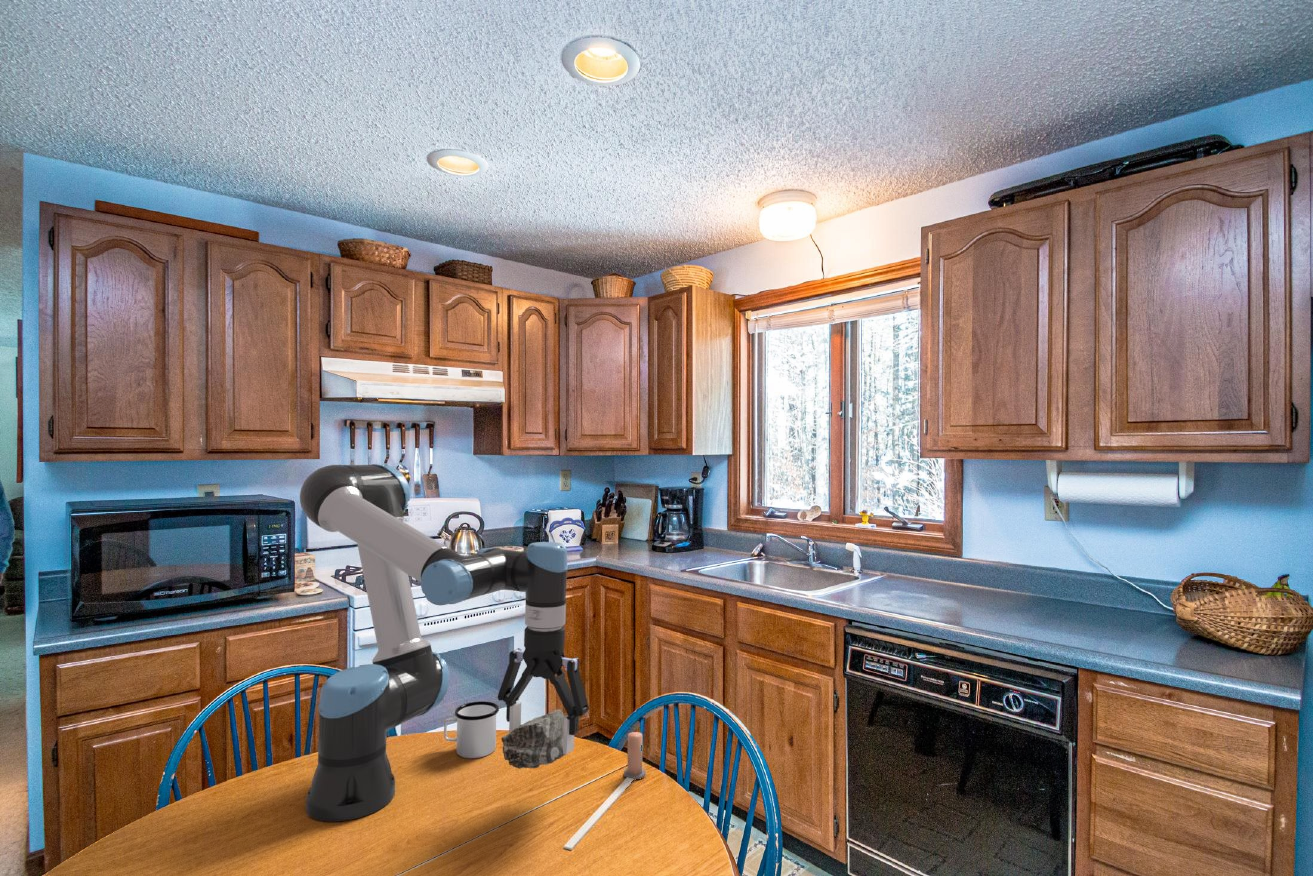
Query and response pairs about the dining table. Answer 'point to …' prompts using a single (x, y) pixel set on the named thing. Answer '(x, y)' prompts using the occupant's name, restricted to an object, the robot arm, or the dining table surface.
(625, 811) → the dining table surface
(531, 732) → the rock
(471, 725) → the mug
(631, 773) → the crank handle
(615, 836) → the dining table surface
